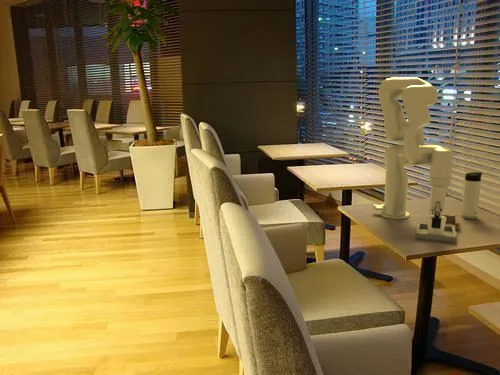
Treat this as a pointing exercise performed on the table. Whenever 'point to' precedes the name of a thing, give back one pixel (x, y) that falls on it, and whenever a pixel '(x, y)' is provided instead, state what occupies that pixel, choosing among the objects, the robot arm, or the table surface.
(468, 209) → the travel mug
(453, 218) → the walnut holder
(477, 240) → the table surface
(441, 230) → the white piece
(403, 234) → the table surface
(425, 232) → the serving tray
